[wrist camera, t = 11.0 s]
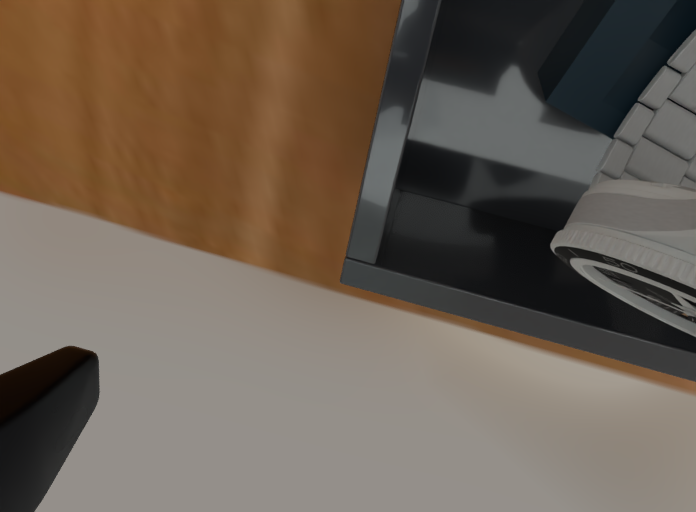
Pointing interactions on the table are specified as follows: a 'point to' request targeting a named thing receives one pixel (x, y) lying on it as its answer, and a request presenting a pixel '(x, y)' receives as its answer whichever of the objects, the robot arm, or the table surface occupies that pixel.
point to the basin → (489, 185)
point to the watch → (633, 151)
